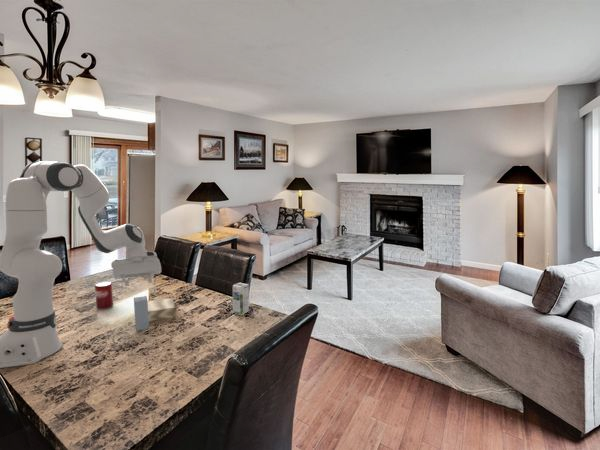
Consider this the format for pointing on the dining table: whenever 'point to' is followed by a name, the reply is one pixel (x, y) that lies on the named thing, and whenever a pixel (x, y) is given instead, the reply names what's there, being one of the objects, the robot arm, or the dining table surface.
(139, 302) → the slate block
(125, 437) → the dining table surface
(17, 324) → the robot arm
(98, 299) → the soda can
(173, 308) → the birch block
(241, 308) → the syrup box
